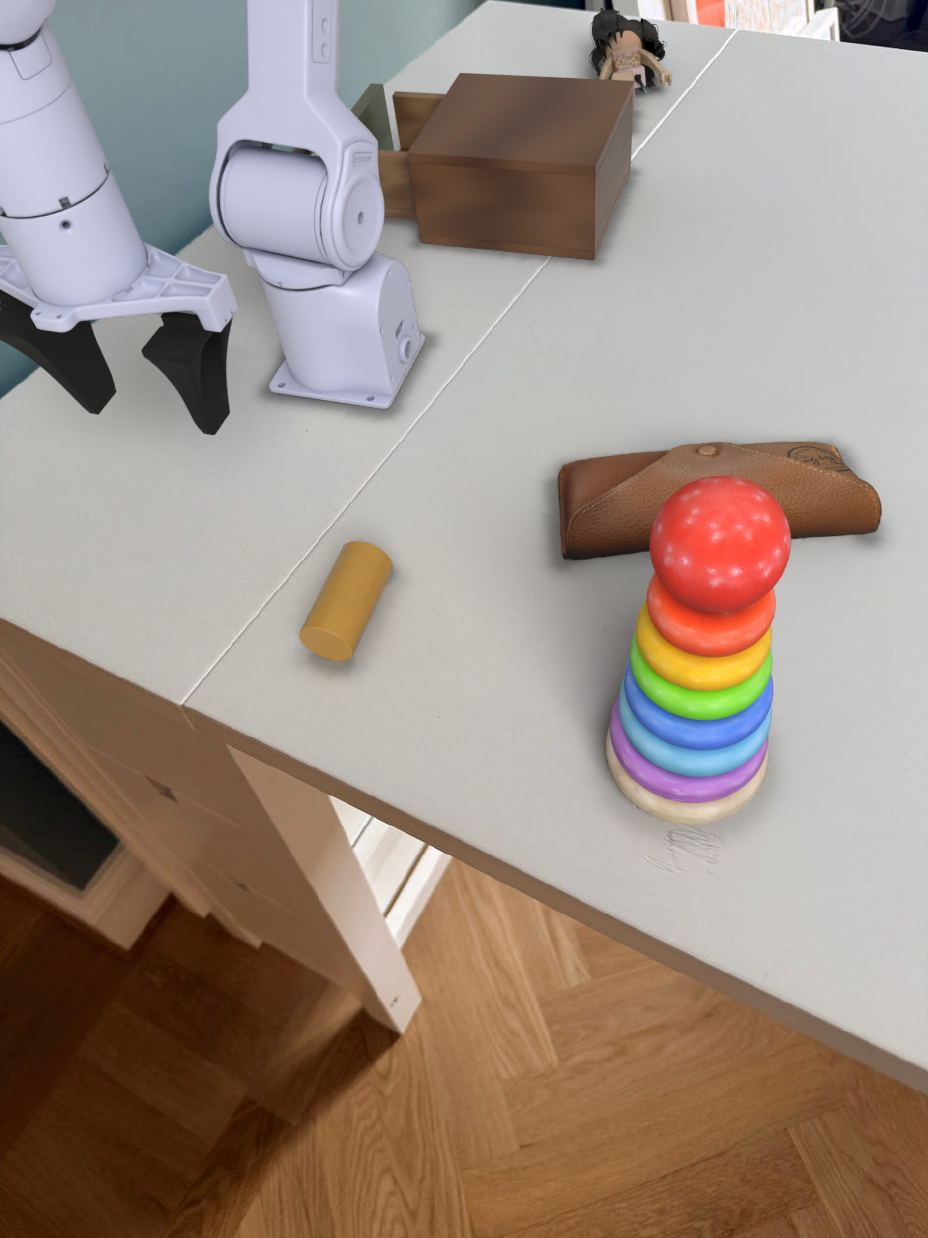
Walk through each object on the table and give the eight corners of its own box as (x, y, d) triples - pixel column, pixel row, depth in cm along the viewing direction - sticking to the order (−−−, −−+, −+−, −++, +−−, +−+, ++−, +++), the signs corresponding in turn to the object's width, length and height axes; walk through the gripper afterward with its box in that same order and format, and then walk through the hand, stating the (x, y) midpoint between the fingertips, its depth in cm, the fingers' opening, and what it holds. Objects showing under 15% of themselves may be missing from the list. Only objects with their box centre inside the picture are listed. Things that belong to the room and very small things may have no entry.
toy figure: (681, 130, 83) (658, 45, 91) (678, 58, 78) (654, -25, 86) (601, 148, 84) (585, 63, 93) (593, 79, 79) (577, -5, 87)
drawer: (283, 215, 80) (264, 148, 75) (335, 146, 86) (321, 80, 81) (485, 234, 75) (479, 164, 70) (525, 159, 81) (521, 90, 76)
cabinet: (421, 243, 77) (406, 152, 71) (469, 161, 83) (459, 72, 77) (595, 260, 73) (595, 165, 67) (630, 173, 79) (634, 80, 73)
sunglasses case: (837, 435, 58) (876, 402, 52) (851, 546, 58) (892, 526, 51) (551, 464, 60) (552, 435, 53) (561, 573, 59) (564, 557, 52)
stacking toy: (799, 765, 47) (902, 512, 31) (683, 863, 44) (734, 641, 29) (685, 664, 51) (727, 398, 36) (573, 749, 48) (568, 503, 33)
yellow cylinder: (384, 582, 57) (399, 558, 54) (344, 668, 54) (358, 646, 51) (337, 558, 56) (350, 532, 54) (293, 643, 53) (305, 620, 50)
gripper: (-134, 218, 42) (15, 440, 53) (137, 250, 38) (238, 483, 49) (-38, 137, 46) (82, 360, 57) (218, 159, 42) (294, 395, 53)
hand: (159, 412), depth 53 cm, fingers open, 7 cm apart
